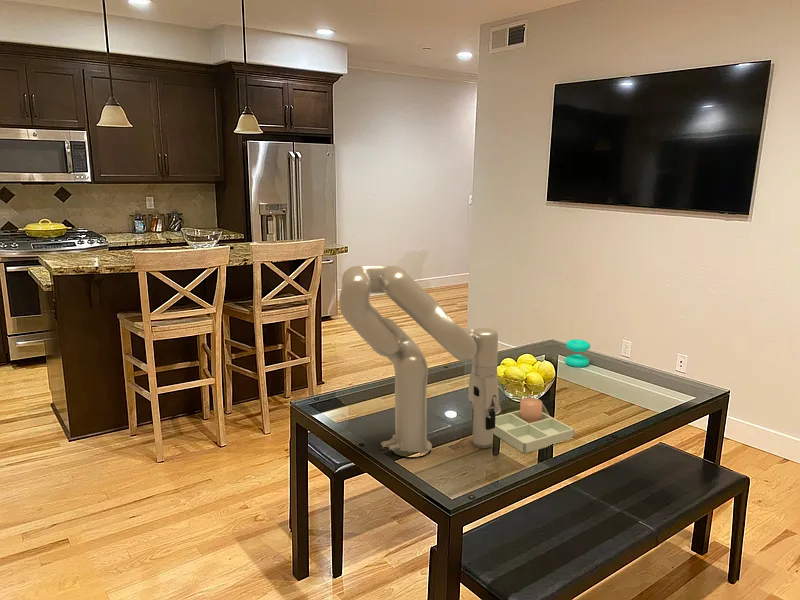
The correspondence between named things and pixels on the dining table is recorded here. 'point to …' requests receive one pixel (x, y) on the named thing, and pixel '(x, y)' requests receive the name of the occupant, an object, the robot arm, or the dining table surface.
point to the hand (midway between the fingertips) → (483, 423)
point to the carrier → (530, 431)
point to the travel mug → (480, 424)
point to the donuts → (577, 359)
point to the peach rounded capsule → (531, 410)
